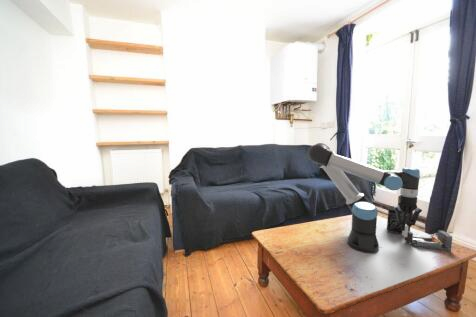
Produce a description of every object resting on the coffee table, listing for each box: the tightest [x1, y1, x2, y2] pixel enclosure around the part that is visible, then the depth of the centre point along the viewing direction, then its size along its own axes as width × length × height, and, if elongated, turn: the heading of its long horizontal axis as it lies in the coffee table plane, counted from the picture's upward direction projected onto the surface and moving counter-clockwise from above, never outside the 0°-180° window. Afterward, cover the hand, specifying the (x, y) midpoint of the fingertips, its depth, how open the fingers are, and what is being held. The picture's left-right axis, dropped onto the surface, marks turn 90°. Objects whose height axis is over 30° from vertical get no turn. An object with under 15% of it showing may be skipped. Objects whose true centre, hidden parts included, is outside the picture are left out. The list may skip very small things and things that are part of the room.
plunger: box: [404, 230, 424, 244], centre depth 118 cm, size 8×4×6 cm, turn 75°
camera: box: [386, 205, 407, 235], centre depth 133 cm, size 10×11×15 cm
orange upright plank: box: [430, 234, 441, 243], centre depth 116 cm, size 2×7×4 cm, turn 164°
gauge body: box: [410, 229, 453, 252], centre depth 116 cm, size 16×7×8 cm, turn 75°
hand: (404, 236), depth 119 cm, fingers closed
